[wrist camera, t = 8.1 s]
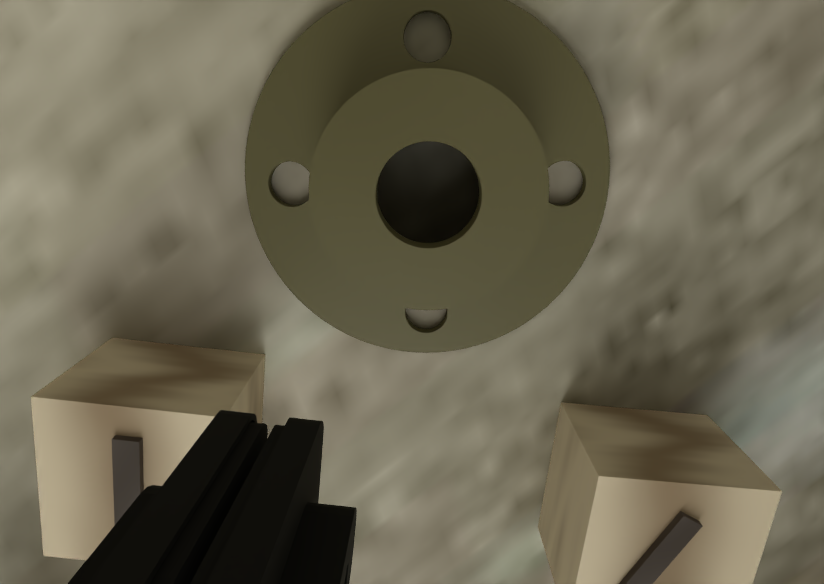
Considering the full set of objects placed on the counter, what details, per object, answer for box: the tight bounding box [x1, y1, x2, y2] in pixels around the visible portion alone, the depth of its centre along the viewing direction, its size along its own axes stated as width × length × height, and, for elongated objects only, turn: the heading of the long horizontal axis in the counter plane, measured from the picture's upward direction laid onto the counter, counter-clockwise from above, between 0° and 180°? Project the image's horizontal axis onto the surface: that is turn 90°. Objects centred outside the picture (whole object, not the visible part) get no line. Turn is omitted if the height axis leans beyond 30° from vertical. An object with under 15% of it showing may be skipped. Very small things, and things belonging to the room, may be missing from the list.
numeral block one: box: [31, 338, 265, 560], centre depth 25 cm, size 7×7×6 cm
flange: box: [245, 0, 610, 353], centre depth 23 cm, size 5×15×15 cm
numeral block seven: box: [538, 402, 782, 584], centre depth 26 cm, size 7×7×6 cm
